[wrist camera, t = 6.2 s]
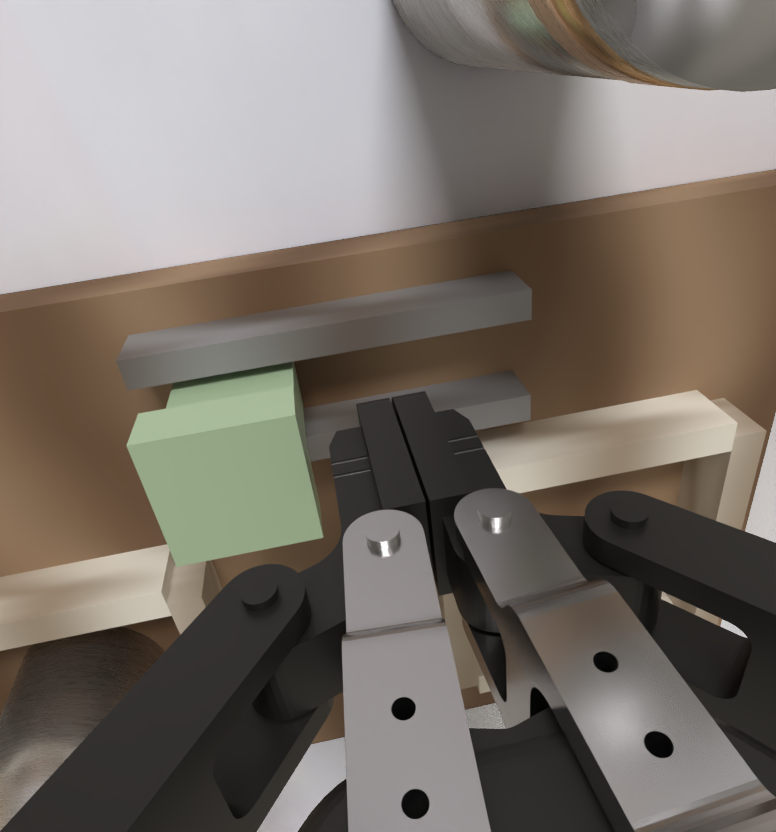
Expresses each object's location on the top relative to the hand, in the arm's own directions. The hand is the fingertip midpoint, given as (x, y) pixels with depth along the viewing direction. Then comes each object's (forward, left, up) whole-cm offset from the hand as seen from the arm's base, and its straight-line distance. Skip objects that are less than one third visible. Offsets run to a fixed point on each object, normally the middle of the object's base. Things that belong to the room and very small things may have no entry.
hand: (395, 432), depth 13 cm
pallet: (-2, -7, -6) cm, 9 cm away
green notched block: (-4, 0, -4) cm, 5 cm away
